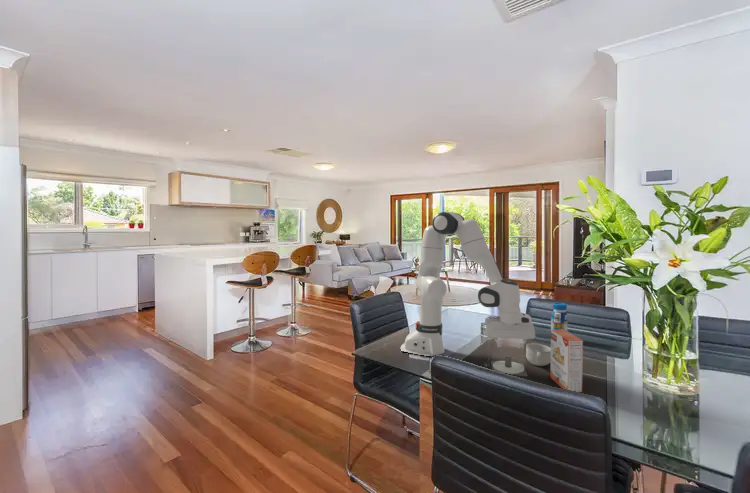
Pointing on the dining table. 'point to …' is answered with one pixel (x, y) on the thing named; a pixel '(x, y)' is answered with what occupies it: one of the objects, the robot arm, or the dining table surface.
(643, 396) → the dining table surface
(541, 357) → the teacup
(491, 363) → the mat
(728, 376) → the dining table surface
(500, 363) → the lid
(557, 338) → the cracker box
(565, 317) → the beverage bottle
